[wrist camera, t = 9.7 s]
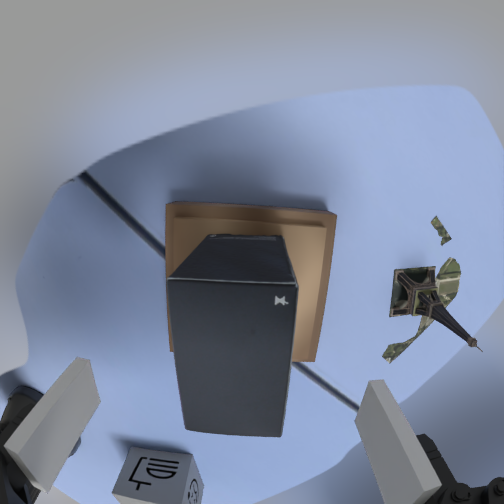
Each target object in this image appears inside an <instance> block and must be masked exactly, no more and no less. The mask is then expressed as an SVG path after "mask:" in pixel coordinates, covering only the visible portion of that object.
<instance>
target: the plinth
mask: <svg viewBox="0 0 504 504" xmlns="http://www.w3.org/2000/svg"><path fill="white" fill-rule="evenodd" d="M336 219H337V215H336V214H334V213H332V212H329V211H322V210H311V209H299V208H287V207H273V206H259V205H243V204H225V203H205V202H180V201H175V202H172V203H168V204H166V228H165V250H166V280H167V278H168V277H169V276H170V275H171V274H172V273H173V272H174V271H175V270H176V269H177V268H178V266H179V265H180V264H181V263H182V262H183V261H184V260H185V259H186V258H187V257H188V256H189V255H190V254H191V252H192V251H193V250H194V249H195V248H196V247H197V246H198V245H199V244H200V243H201V242H202V240H203V239H204V238H205V237H206V236H207V235H209V234H231V235H240V234H241V235H260V236H262V235H266V236H271V235H278V236H279V235H282V236H283V237H284V239H285V243H286V248H287V252H288V255H289V258H290V260H291V263H292V267H293V270H294V272H295V276H296V279H297V283H298V285H299V292H298V304H297V315H296V327H295V336H294V346H293V353H292V361H296V362H315V358H316V353H317V348H318V343H319V337H320V332H321V326H322V320H323V315H324V309H325V303H326V296H327V290H328V283H329V276H330V269H331V262H332V254H333V246H334V238H335V229H336ZM166 293H167V285H166ZM167 314H168V331H169V345H170V352H173V344H172V335H171V326H170V317H169V307H168V295H167Z"/></svg>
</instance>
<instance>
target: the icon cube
mask: <svg viewBox="0 0 504 504" xmlns="http://www.w3.org/2000/svg"><path fill="white" fill-rule="evenodd" d="M203 488H204V484H203V482H202V479H201V476H200V474H199V471H198V468H197V466H196V463H195V460H194V457H193V454H182V453H172V452H164V451H156V450H150V449H143V448H137V447H132V446H131V448H130V451H129V453H128V455H127V458H126V460H125V462H124V465H123V467H122V469H121V472H120V474H119V476H118V479H117V481H116V484H115V486H114V489H113V491H112V494H113V495H114V497H115V498H116V499H117V500H118V501H119V503H120V504H201V500H202V494H203Z"/></svg>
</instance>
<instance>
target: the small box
mask: <svg viewBox="0 0 504 504" xmlns="http://www.w3.org/2000/svg"><path fill="white" fill-rule="evenodd" d="M166 285H167V295H168V307H169V317H170V326H171V335H172V344H173V352H174V359H175V367H176V374H177V381H178V388H179V394H180V401H181V407H182V413H183V419H184V425H185V429H186V430H190V431H196V432H203V433H212V434H225V435H239V436H261V437H281V436H282V431H283V425H284V419H285V412H286V404H287V397H288V389H289V382H290V373H291V364H292V353H293V346H294V336H295V327H296V315H297V304H298V292H299V285H298V283H297V279H296V276H295V272H294V270H293V267H292V263H291V260H290V258H289V255H288V252H287V248H286V243H285V239H284V237H283V236H282V235H279V236H278V235H271V236H266V235H262V236H260V235H241V234H240V235H231V234H209V235H207V236H206V237H205V238H204V239H203V240H202V242H201V243H200V244H199V245H198V246H197V247H196V248H195V249H194V250H193V251H192V252H191V254H190V255H189V256H188V257H187V258H186V259H185V260H184V261H183V262H182V263H181V264H180V265H179V266H178V268H177V269H176V270H175V271H174V272H173V273H172V274H171V275H170V276H169V277H168V278H167V280H166Z"/></svg>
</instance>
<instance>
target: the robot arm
mask: <svg viewBox="0 0 504 504" xmlns="http://www.w3.org/2000/svg"><path fill="white" fill-rule="evenodd" d="M100 402H101V401H100V397H99V394H98V390H97V387H96V383H95V380H94V376H93V372H92V368H91V364H90V360H87V359H83V358H79V357H77V358H76V359H75V360H74V361H73V362H72V363H71V364H70V365H69V367H68V368H67V369H66V370H65V371H64V372H63V373H62V375H61V376H60V377H59V378H58V379H57V380H56V382H55V383H54V384H53V385H52V386H51V387H50V389H49V390H48V391H47V392H46V393H45V395H44V396H43V395H42V394H40V393H39V392H37V391H35V390H33V389H31V388H28V387H25V386H20V387H17V388H16V389H15V390H14V391H13V392H12V393H11V394H10V396H9V399H8V404H7V406H6V408H5V410H4V413H3V415H2V418H1V421H0V504H34V503H35V501H36V499H37V497H38V495H39V493H40V492H41V491H43V492H45V493H48V492H49V490H50V489H51V487H52V485H53V483H54V481H55V479H56V478H57V476H58V474H59V472H60V470H61V469H62V467H63V465H64V463H65V461H66V460H67V458H68V457H70V456H72V455H73V454H74V453H75V452H76V451H77V449H78V447H79V446H80V443H81V440H80V436H81V434H82V432H83V430H84V429H85V427H86V425H87V424H88V422H89V420H90V419H91V417H92V415H93V414H94V412H95V410H96V409H97V407H98V406H99V404H100ZM355 424H356V426H357V429H358V432H359V434H360V437H361V440H362V442H363V445H364V448H365V450H366V453H367V456H368V458H369V461H370V464H371V466H372V469H373V472H374V475H375V478H376V480H377V483H378V486H379V489H380V492H381V495H382V497H383V500H384V503H385V504H504V478H502V477H498V478H495V479H493V480H492V481H491V482H490V483H489V484H488V485H487V486H482V487H475V488H470V487H469V486H468V485H466V484H464V483H457V481H456V480H455V478H454V477H453V475H452V473H451V471H450V469H449V468H448V466H447V464H446V462H445V461H444V459H443V457H441V454H440V452H439V451H438V450H437V447H436V445H435V443H434V442H433V440H431V439H430V438H429V437H428V436H427V435H425V434H421V435H417V436H416V435H415V434H414V432H413V430H412V428H411V426H410V425H409V423H408V421H407V419H406V418H405V416H404V414H403V412H402V411H401V409H400V407H399V405H398V404H397V402H396V400H395V399H394V397H393V395H392V393H391V392H390V390H389V388H388V387H387V385H386V383H385V382H384V380H372V381H369V382H368V385H367V388H366V391H365V394H364V397H363V400H362V402H361V405H360V408H359V411H358V413H357V416H356V419H355Z"/></svg>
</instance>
